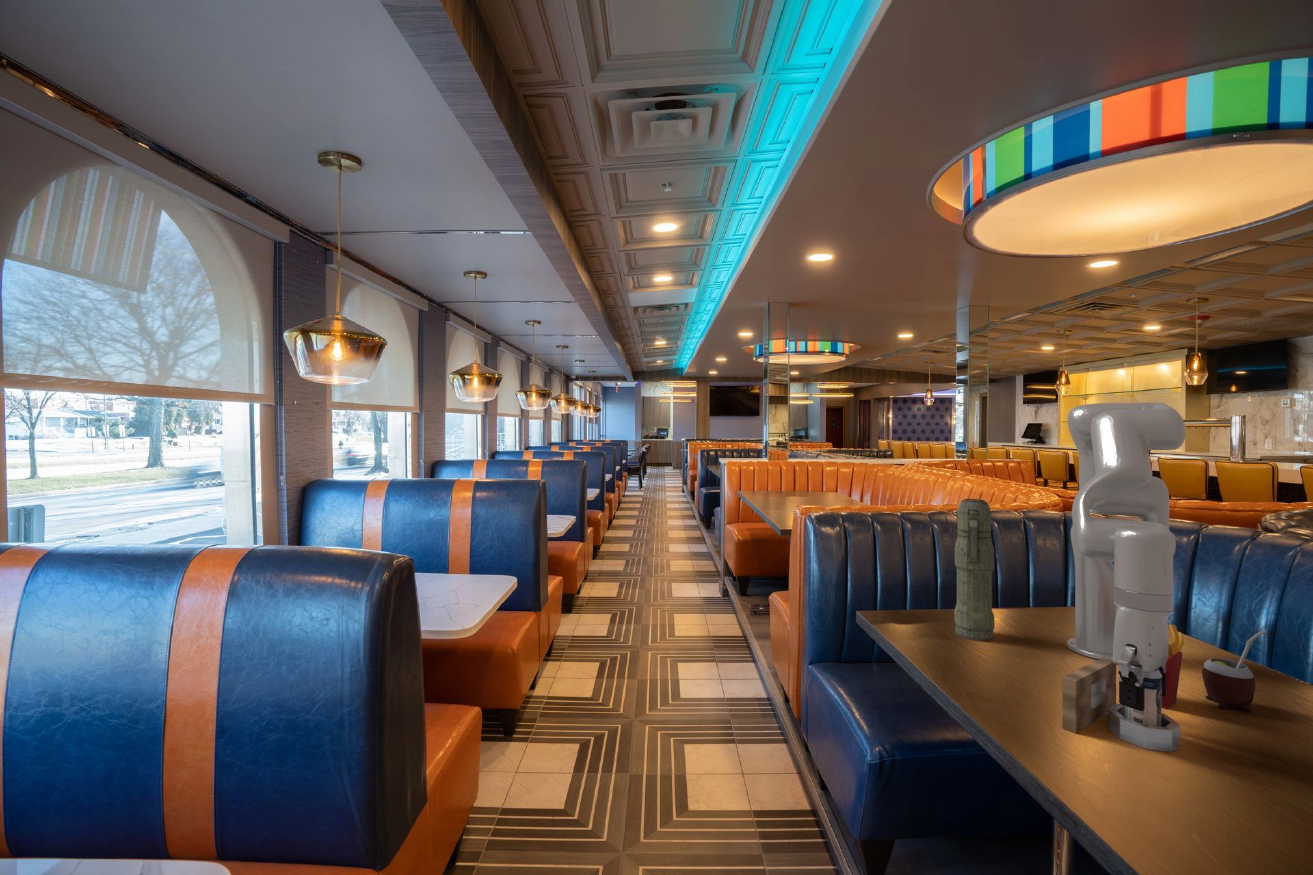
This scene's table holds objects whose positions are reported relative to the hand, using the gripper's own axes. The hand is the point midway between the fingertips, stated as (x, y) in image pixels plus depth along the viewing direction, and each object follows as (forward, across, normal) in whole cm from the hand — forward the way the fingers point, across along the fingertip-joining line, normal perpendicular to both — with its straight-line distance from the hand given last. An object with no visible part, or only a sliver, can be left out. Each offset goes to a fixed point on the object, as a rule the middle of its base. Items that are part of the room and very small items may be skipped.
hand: (1142, 699), depth 93 cm
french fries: (+6, -20, -4) cm, 21 cm away
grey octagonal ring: (+6, 0, 0) cm, 6 cm away
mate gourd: (+6, -28, +4) cm, 30 cm away
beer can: (+6, 0, 0) cm, 7 cm away
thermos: (+6, -24, -42) cm, 49 cm away
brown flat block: (+6, 0, -8) cm, 10 cm away
